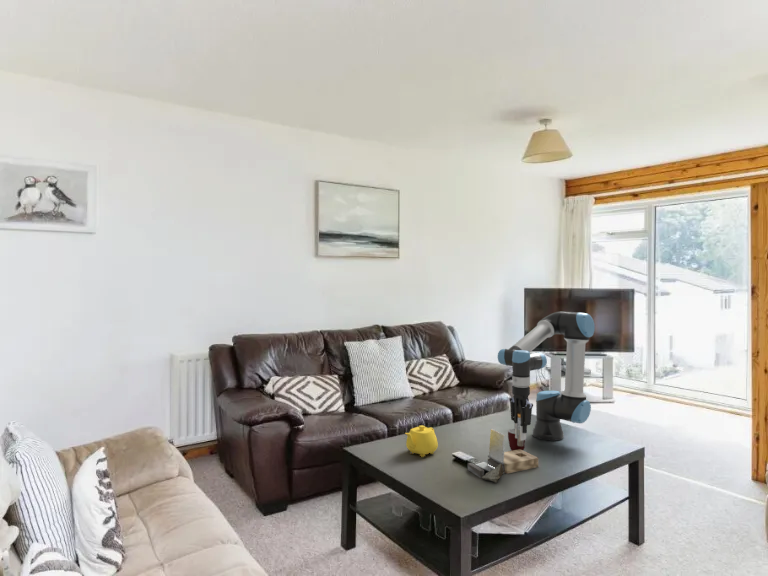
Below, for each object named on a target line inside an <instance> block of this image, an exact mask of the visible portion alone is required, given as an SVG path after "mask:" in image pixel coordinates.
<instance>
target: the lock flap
mask: <svg viewBox="0 0 768 576" xmlns="http://www.w3.org/2000/svg"><path fill="white" fill-rule="evenodd" d="M505 445H506V434H504V433H502V432H499V431H497V430H496V429H494V428H491V429H490V436H489V449H488V455H487V457H488V459H489V458H490V459H492V460H494V461H496V462H498V463H500V464H502V465H504V464H505V463H504V452H505V447H506V446H505Z"/></svg>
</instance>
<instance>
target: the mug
mask: <svg viewBox="0 0 768 576" xmlns="http://www.w3.org/2000/svg"><path fill="white" fill-rule="evenodd" d="M507 438H508V444H509V448H510V451H513V450H518V449H521V450H523V451H524V450H525V447H526V446H525V445H526V444H525V443H526V440H524V446H518V445H517V438H515V428H510V429H508V430H507Z"/></svg>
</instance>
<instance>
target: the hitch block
mask: <svg viewBox="0 0 768 576" xmlns="http://www.w3.org/2000/svg"><path fill="white" fill-rule="evenodd" d="M504 463H505V464H504V465H502V467H503V474H511V473H516V472H521V471H526V470H532V469H535V468H539V457H537V456H536V455H534V454H531V453H529V452H527V451H524V450H521V449H518V450H513V451H511V450H508V451H504ZM488 464H489V465H491V466H493V467H495V468H496V467H498V465H499V464H500V463H498V462H496V461H494V460H492V459H490V458H489V457H488V458H487V465H488ZM467 471H469V472H470V473H472V474H473V475H475V476H476V477H478V478H482V477H483V476H484V475H485V470H484V469H483V468H481V466H478V465H476V464H474V463H473V462H467Z"/></svg>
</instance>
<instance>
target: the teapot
mask: <svg viewBox="0 0 768 576" xmlns="http://www.w3.org/2000/svg"><path fill="white" fill-rule="evenodd" d="M404 434H405V435H406V436H407V437H406V441H405V442H406V443H405V446H406V448H407V449H408V451H410V452H412V453H415V454H416V455H417V454H418V455H419V457H420V456H421V457H420V458H425V457H426V455H428V454H429V453H430V455H433V454H435V452H436V450H438V447H439V443H438V438H437V436H436V433H435V429H434V428H433V427H427V426H425V425H418V426H416V427H413V428H410V430H409V432H405V433H404ZM424 456H425V457H424Z"/></svg>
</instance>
